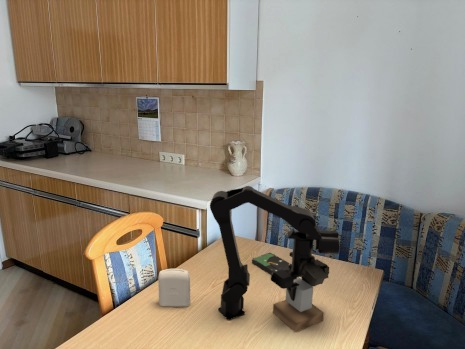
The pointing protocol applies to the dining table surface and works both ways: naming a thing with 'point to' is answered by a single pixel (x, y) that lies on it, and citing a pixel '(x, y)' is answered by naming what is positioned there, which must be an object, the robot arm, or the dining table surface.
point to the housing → (301, 296)
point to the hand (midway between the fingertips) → (298, 298)
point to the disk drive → (271, 263)
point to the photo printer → (174, 287)
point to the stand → (297, 315)
